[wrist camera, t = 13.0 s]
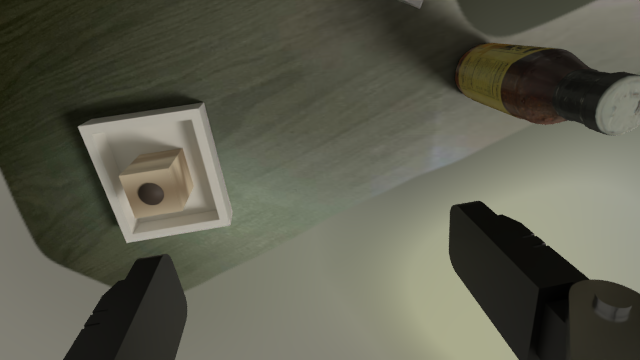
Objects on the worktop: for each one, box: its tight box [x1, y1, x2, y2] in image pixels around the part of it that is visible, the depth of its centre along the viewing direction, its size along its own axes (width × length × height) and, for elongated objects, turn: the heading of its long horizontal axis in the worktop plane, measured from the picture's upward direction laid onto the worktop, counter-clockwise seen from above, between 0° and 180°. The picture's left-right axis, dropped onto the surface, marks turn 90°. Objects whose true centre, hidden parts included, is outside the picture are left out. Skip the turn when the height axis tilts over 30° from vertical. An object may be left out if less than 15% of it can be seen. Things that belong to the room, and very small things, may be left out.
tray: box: [78, 102, 233, 243], centre depth 41 cm, size 14×12×3 cm
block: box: [119, 148, 194, 218], centre depth 39 cm, size 5×5×6 cm
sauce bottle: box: [455, 43, 640, 136], centre depth 33 cm, size 6×6×20 cm
